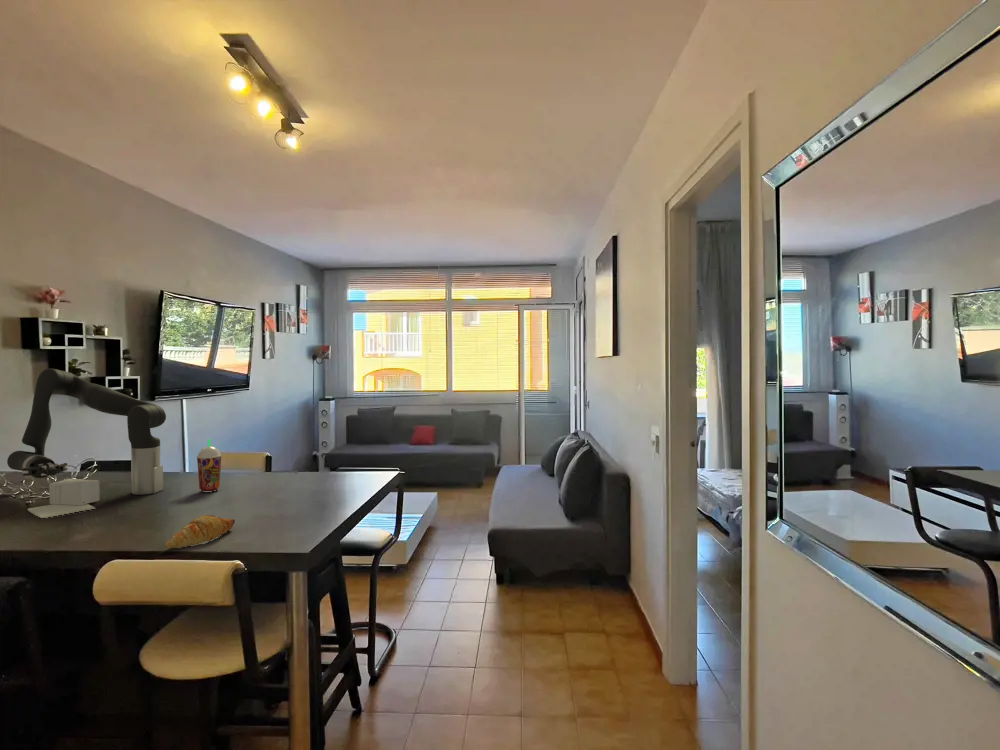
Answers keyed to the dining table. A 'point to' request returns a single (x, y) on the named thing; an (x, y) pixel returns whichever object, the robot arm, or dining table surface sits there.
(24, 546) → the dining table surface
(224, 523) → the croissant
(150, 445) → the robot arm
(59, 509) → the topple mat
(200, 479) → the smoothie
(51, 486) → the supplement box
